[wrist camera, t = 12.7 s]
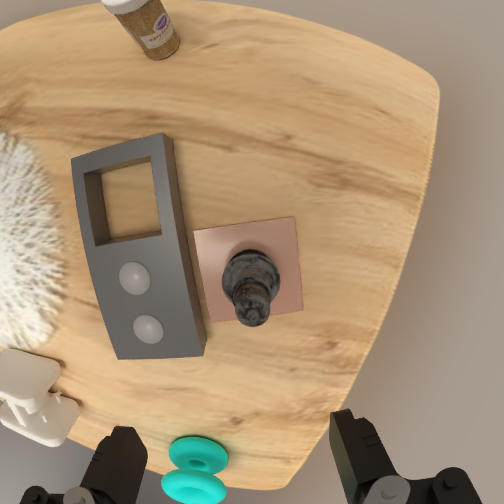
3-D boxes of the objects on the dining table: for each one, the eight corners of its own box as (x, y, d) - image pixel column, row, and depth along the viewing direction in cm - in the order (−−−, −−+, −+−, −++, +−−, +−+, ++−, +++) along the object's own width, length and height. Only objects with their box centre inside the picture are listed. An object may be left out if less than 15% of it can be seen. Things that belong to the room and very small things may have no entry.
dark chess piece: (269, 239, 32) (282, 271, 20) (282, 288, 33) (301, 342, 21) (217, 254, 32) (201, 294, 20) (233, 302, 33) (227, 361, 21)
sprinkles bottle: (174, 61, 27) (138, 2, 14) (139, 60, 27) (90, 8, 14) (184, 31, 26) (157, -35, 13) (150, 30, 26) (111, -29, 13)
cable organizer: (68, 360, 36) (31, 403, 24) (86, 409, 38) (59, 453, 27) (8, 344, 35) (-28, 375, 24) (26, 390, 38) (-3, 424, 26)
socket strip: (88, 160, 30) (69, 158, 25) (172, 138, 29) (162, 132, 25) (128, 343, 35) (117, 360, 31) (207, 338, 35) (202, 356, 31)
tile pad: (194, 230, 32) (193, 231, 31) (293, 216, 32) (294, 217, 31) (211, 320, 34) (210, 322, 34) (302, 308, 34) (303, 310, 34)
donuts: (225, 510, 32) (164, 502, 31) (227, 467, 41) (173, 461, 41) (227, 485, 30) (155, 475, 29) (229, 436, 39) (167, 429, 39)
